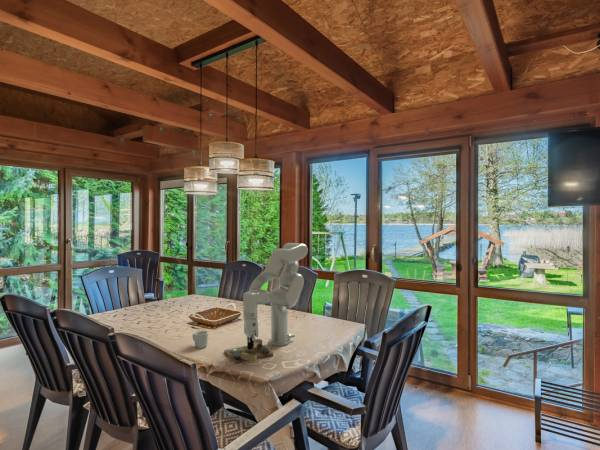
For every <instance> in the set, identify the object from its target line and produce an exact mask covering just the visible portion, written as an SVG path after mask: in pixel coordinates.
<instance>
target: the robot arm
mask: <svg viewBox="0 0 600 450" xmlns="http://www.w3.org/2000/svg"><path fill="white" fill-rule="evenodd" d="M308 251H309V249H308V246H307V245H306V244H305V243H300V242H299V243H296V242H287V243H285V244H283V246H282V248H276V249H274V250H273V251H272V253H271V256H270V257H269V260H268V261H267V264H266V266H265V268H264V270H263V271H262V272H261V273H259V275H257V276H256V277H255V278H254V279H253V280H252V282H251V284H250V286H249V289H248V291H246V292H244V293H243V296H242V299H243V300H242V301H243V302H242V304H243V306H242V307H243V308H242V309H243V312H242V313H243V316H242V317H243V319H244V320H243V333H244V335H245V336H246V341H247V345H246V346H247V349H249V350H250V349H252V347H253V346H254V340H256V338H258V337H259V323H258V305H259V306H260V305H267V304H269V303H270V313H271V315H270V317H271V318H270V320H271V323H270V324H271V327H270V329H271V331H270V332H271V338H270V339H268V344H269V345H271V346H275V347H283V346H287V345H289V344H290V343H291V339H292V338H295V337H296V334H295V333H288V332H289V329H288V309H287V308H290V309H291V308H293V307H295V306H296V304H297V303H298V300H299V298H300V295H301V293H302V291H303V288H304V284H305V279H304V277H303V274H300V273H298V271H299V267H300V266H299V264H300V263H299V261H300V260H302V259H304V258H305V257H306V256H307V255H308V254H309V253H308ZM282 268H283V269H282ZM281 270H282V271H281ZM278 277H279V278H278ZM277 278H278V284H279V286H280V287H282V288H277V287H275V288H274V289H272V290H271V291H270V292H269V291H268V290H265V289H262V287H263V286H264V285H265V284H266V283H268V282H269V281H272V280H275V279H277Z"/></svg>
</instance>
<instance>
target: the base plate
mask: <svg viewBox="0 0 600 450" xmlns="http://www.w3.org/2000/svg"><path fill="white" fill-rule="evenodd" d="M236 350H242V351H243V353H248V354H252V355H257V360H262V359H266V358H270V357H274V352H273V351H271V350H270V348H269V347H266V346H264V344H262V347H259V348H258V349H257V351H256V352H255V353H252V349H250V350H249V349H247V345H242V346H237V347H234V348H228V349H224V350H223V351H224V354H225V355H226V356H227V357H228V358H229V359H230V361H232V362H233V363H234V364H235V365H238V364H244V363H247V362H249V361H248V360H243V359H234V351H236Z"/></svg>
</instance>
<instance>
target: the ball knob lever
mask: <svg viewBox="0 0 600 450" xmlns="http://www.w3.org/2000/svg"><path fill="white" fill-rule="evenodd" d="M262 345H263V339H262V338H255V340H254V346H253V347H252V353H255V352H256V351H257V349H258V348H259V347H262Z"/></svg>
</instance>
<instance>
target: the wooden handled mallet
mask: <svg viewBox="0 0 600 450" xmlns="http://www.w3.org/2000/svg"><path fill="white" fill-rule="evenodd" d="M234 359H243V360H248V362H251V363H256V362H258V359H257V355H252V354H248V353H243V351H242V350H236V351H234Z"/></svg>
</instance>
